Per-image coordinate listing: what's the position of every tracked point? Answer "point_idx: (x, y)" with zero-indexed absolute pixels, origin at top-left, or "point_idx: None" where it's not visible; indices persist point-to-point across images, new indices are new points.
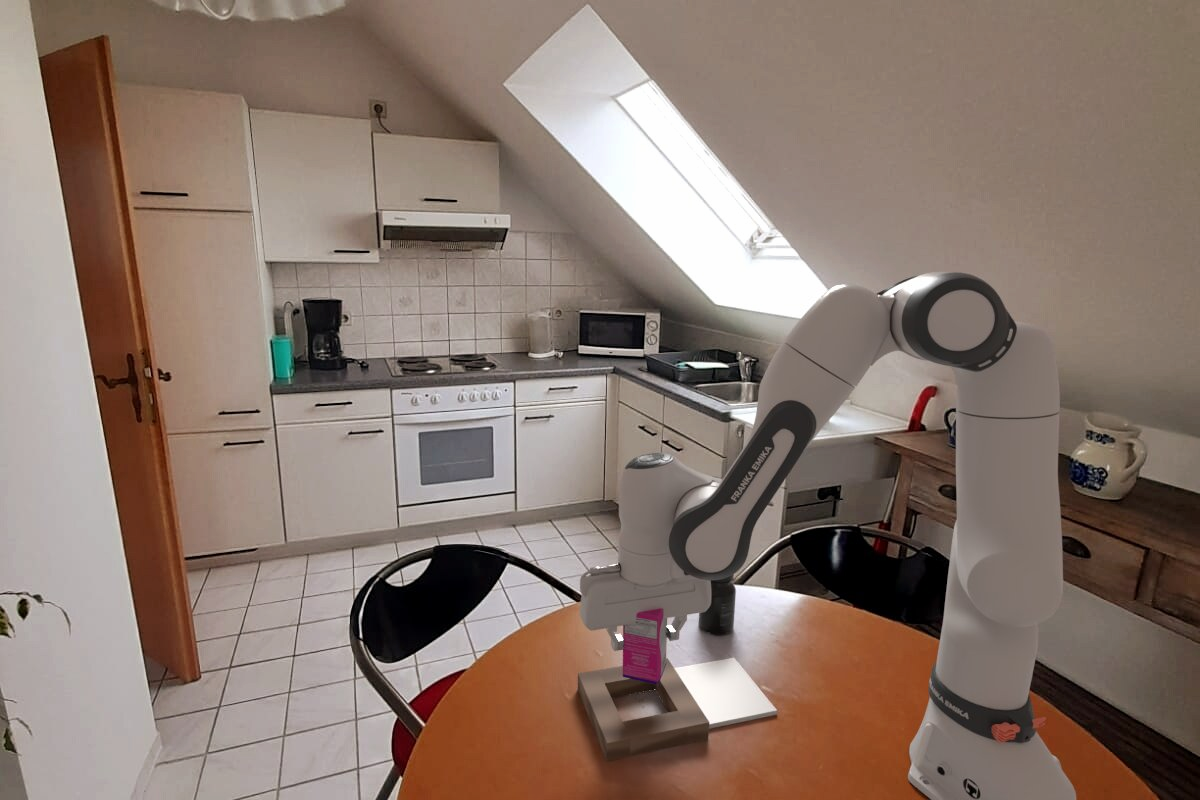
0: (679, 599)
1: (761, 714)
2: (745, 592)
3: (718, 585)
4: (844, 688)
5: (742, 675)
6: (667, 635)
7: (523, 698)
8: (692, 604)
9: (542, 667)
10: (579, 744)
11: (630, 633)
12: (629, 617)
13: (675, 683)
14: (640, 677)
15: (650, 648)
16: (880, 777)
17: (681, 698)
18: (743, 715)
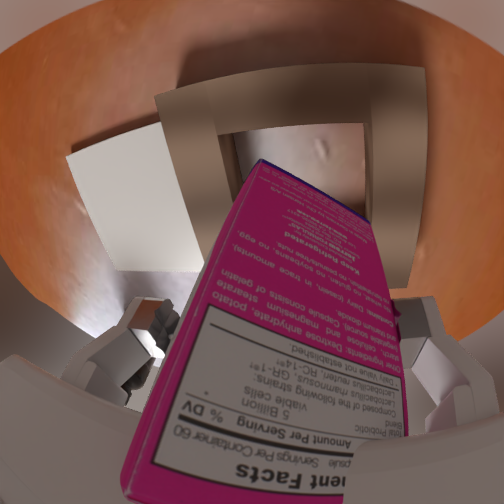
0: (39, 465)
1: (84, 148)
2: None
3: None
4: (21, 198)
5: (104, 234)
6: (175, 323)
7: (479, 262)
8: (16, 405)
9: None
10: (446, 128)
11: (376, 373)
12: (400, 495)
13: (208, 222)
14: (318, 194)
15: (269, 264)
16: (10, 62)
17: (202, 174)
18: (105, 144)
